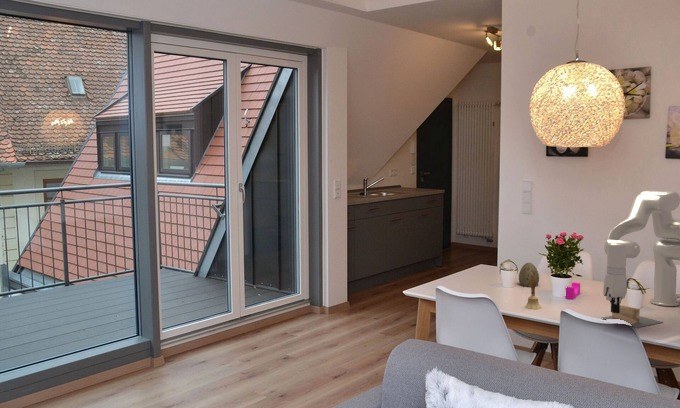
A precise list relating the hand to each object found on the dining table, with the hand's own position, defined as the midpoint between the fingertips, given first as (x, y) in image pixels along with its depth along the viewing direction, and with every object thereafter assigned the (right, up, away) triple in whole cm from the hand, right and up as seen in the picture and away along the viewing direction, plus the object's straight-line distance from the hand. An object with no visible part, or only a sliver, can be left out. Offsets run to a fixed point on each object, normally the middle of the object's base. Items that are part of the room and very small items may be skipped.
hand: (615, 312), depth 268 cm
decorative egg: (-16, 0, +72) cm, 74 cm away
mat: (+10, -5, +5) cm, 12 cm away
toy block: (-1, -2, +50) cm, 50 cm away
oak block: (+6, -4, +4) cm, 8 cm away
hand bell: (-27, -3, +29) cm, 40 cm away
